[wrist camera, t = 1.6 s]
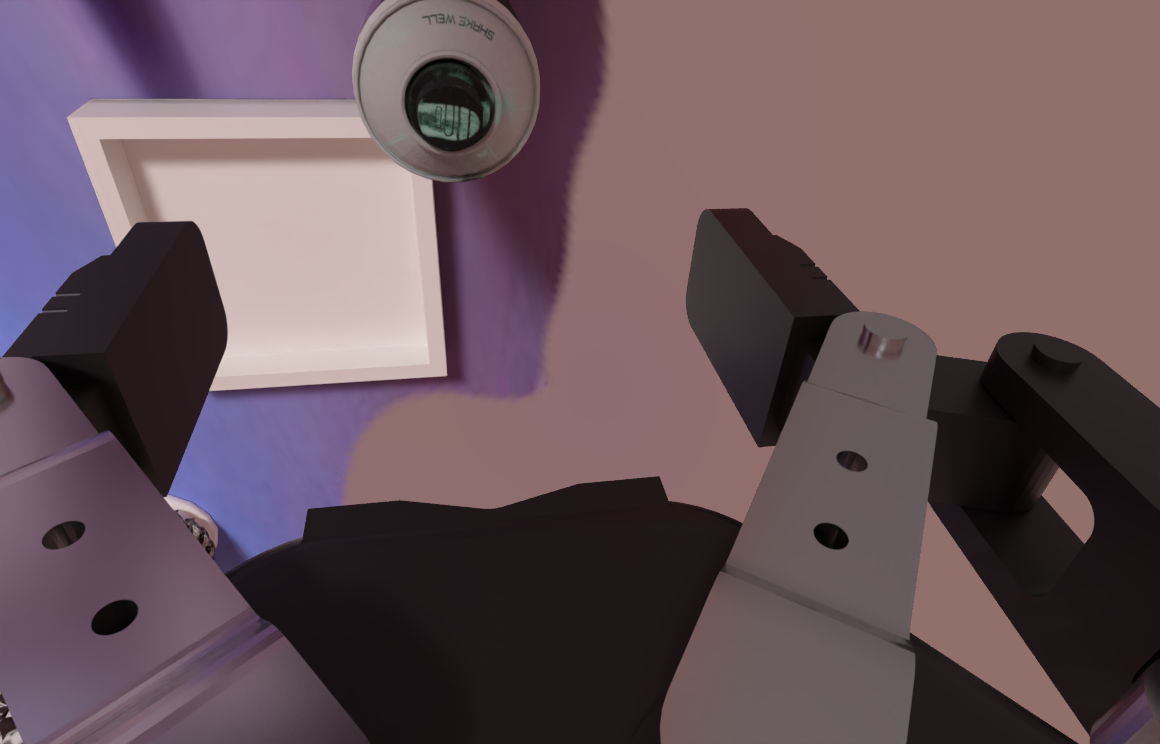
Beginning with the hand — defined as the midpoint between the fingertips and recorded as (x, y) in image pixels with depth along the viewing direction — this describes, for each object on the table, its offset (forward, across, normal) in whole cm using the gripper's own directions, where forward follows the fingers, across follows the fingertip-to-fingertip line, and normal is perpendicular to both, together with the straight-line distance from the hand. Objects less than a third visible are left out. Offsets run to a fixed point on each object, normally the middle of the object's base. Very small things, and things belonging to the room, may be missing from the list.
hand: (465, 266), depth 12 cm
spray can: (+28, 0, 0) cm, 28 cm away
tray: (+28, +9, +13) cm, 32 cm away
